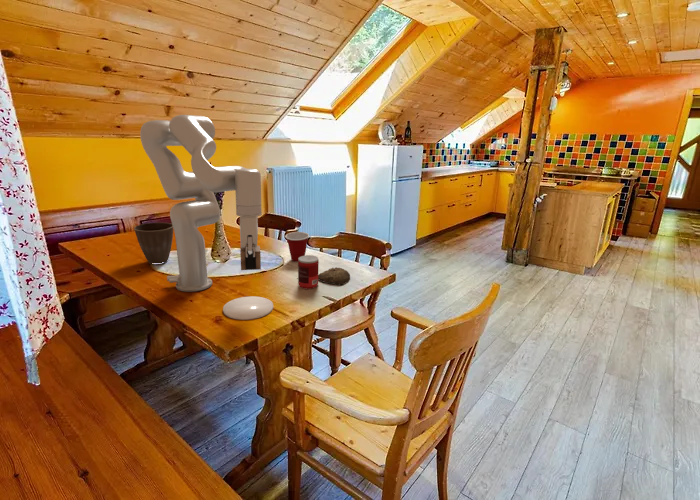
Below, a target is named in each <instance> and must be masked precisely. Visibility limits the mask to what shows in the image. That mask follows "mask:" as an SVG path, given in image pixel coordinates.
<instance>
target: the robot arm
mask: <svg viewBox="0 0 700 500" xmlns="http://www.w3.org/2000/svg"><path fill="white" fill-rule="evenodd" d="M139 131H140V134H139V135H140V142H141V145H142V147H143V150H144V152H145V154H146V155H147V157H148V158H149V160H150V161H151V163H152V164H153V166H154V168H155V171H156V174H157V176H158V179H159V181H160V184H161V187H162V188H163V190H164V192H165V193H164V194H165V195H166V196H167V198H169V200H173V201H179V200H180V202H178V203H176V204H174V205H173V206H172V207H171V208H170V211H169V218H170V220H171V224H172V225H173V233H174V236H175V245H176V246H175V247H176V254H177V264H178V274H176V275H167V276H166V280H167V282H169V284H170V283H175V289H177V290H178V291H180V292H184V293H185V292H187V293H188V292H189V293H194V292H199V291H203V290H207V289H209V288H210V287H211V286H212V285H213V280H212V279H211V278H210V277H208V268H207V256H206V254H207V253H206V244H205V238H204V236H203V234H202V233H201V231H199V229H198V228H199V227H204V226H208V225H209V226H210V225H213V224H216V223H218V222H219V220H220V219H221V208H220V205H219V204H218V201H217V198H216V195H215V193H221V192H222V193H223V192H230V191H231V192H232V191H235V207H236V209H235V210H236V211H235V212H236V215H235V216H238V217H239V235H240V249H241V248H243V247H245V246H246V257H245V266H246V269H256V256H255V248H256V247H257V246H258V240H259V239H258V236H259V233H258V232H259V225H258V224H259V223H258V222H259V220H258V219H259V218H258V217H260V216H262V180H261V179H262V176H261V172H260V171H259V170H258V169H255V168H246V167H244V166H241V165H226V166H225V165H224V166H213V165H212V164H210V162H209V161H208V160H210V159H211V158H212V157H213V156H214V155H215V154H216V150H217V144H216V141H215V140H214V138H215V136H216V128H215V124H214V122H213V121H212V120H211V119H210V118H209V117H207V116H204V115H194V114H178V115H175V116H173V117H172V118H170V120H167V119H165V120H163V119H155V120H148V121H146V122H144V123H143V124H142V126H141V128H140V130H139ZM174 146H175V147H183V148H184V149H185V151H187V152H188V154H189V155H190V156H191V159H190V164H191V171H185V170H184V168H183V165H182V163H181V160H180V159H179V157H177V154H175V153H173V152H172V151H171V150H170V149H169V148H167V147H174ZM188 199H194V200H189V201H188ZM182 200H187V201H182ZM181 201H182V202H181ZM247 246H248V247H247ZM252 246H254V247H252ZM247 249H248V251H247ZM252 249H253V250H252Z"/></svg>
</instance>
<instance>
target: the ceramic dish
mask: <svg viewBox="0 0 700 500" xmlns="http://www.w3.org/2000/svg"><path fill="white" fill-rule="evenodd" d="M273 309H274V303H273V301H272V300H270V299H268V298H265V297H262V296H252V295H251V296H241V297H237V298H235V299H232V300H230V301H228V302H226V303H225V304H224V305H223V308H222V313H223V315H225V316H226V317H228V318H230V319H233V320H240V321H242V320H243V321H249V320H257V319H259V318H262V317H265V316H267V315H269V314H270V313H271V312H273Z"/></svg>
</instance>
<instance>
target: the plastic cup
mask: <svg viewBox="0 0 700 500" xmlns="http://www.w3.org/2000/svg"><path fill="white" fill-rule="evenodd" d="M309 238H310V234H309V233H307V232H304V231H293V232H289V233H287V234H285V240H286V241H287V245H288V250H289V254H290V259H291V261H292V262H297V263H298V258H299V257H301V256H305V255H306V251H307V245H308V240H309Z"/></svg>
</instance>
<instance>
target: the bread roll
mask: <svg viewBox="0 0 700 500" xmlns="http://www.w3.org/2000/svg"><path fill="white" fill-rule="evenodd" d="M350 278H351V274H350V273H349V271H348V270H346V269H344V268H342V267H335V268H334V267H331V268H328V270H325V271H323V272H320V273H318V281H320V282H323V283H327V284H332V285H338V286H340V285H343V284H346V283H348V282H349V280H350Z"/></svg>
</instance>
